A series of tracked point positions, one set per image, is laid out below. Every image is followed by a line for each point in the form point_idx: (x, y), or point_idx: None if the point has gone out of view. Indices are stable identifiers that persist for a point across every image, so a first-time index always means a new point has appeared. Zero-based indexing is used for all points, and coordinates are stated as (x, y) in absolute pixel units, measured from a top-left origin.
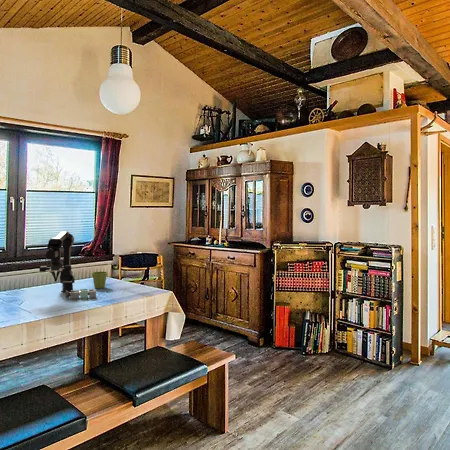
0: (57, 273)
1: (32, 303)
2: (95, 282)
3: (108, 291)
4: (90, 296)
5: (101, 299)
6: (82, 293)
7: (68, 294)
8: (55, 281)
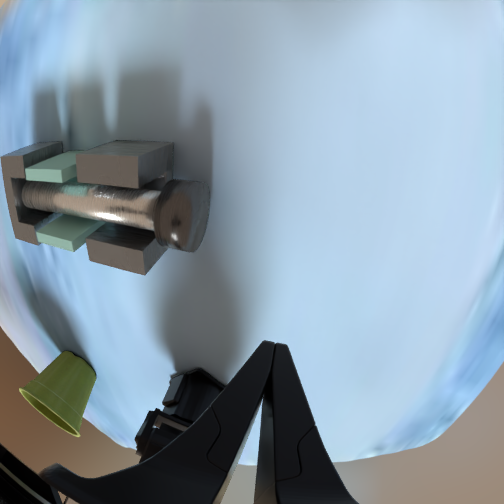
0: (194, 483)
1: (476, 184)
2: (74, 382)
3: (26, 282)
4: (46, 145)
5: (19, 108)
6: (66, 162)
7: (169, 182)
8: (281, 345)
